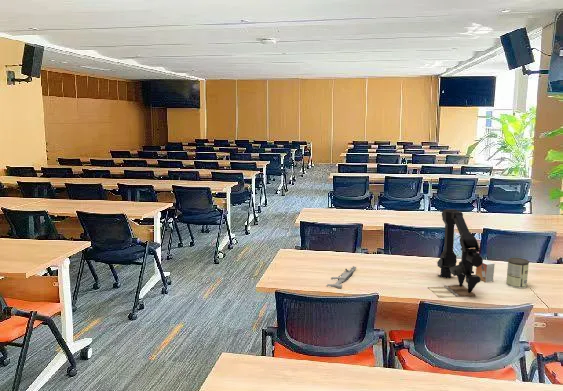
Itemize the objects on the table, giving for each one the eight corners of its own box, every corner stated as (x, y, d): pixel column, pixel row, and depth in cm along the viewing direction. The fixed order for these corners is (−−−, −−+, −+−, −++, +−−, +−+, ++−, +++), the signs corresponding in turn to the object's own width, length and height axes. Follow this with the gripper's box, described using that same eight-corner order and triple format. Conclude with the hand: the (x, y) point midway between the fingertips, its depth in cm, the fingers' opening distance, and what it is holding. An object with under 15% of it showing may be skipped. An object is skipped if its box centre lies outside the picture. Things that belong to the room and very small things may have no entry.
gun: (343, 263, 296) (359, 263, 291) (343, 268, 296) (359, 269, 292) (323, 282, 263) (340, 283, 259) (323, 288, 264) (341, 289, 259)
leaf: (443, 288, 260) (443, 285, 260) (461, 287, 262) (461, 283, 261) (456, 298, 247) (456, 295, 246) (475, 296, 248) (475, 293, 248)
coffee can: (507, 280, 273) (509, 256, 271) (527, 284, 268) (529, 259, 266) (504, 286, 265) (506, 261, 262) (525, 289, 259) (528, 264, 257)
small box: (475, 278, 277) (476, 260, 276) (482, 277, 279) (484, 259, 277) (485, 282, 270) (486, 264, 268) (493, 281, 272) (494, 263, 270)
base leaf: (427, 289, 259) (427, 286, 259) (447, 288, 261) (447, 285, 260) (438, 299, 246) (439, 295, 245) (459, 298, 247) (459, 295, 247)
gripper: (444, 255, 260) (442, 283, 262) (461, 266, 242) (458, 296, 244) (464, 255, 261) (461, 283, 264) (482, 266, 243) (479, 296, 245)
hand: (464, 289), depth 254 cm, fingers open, 9 cm apart
